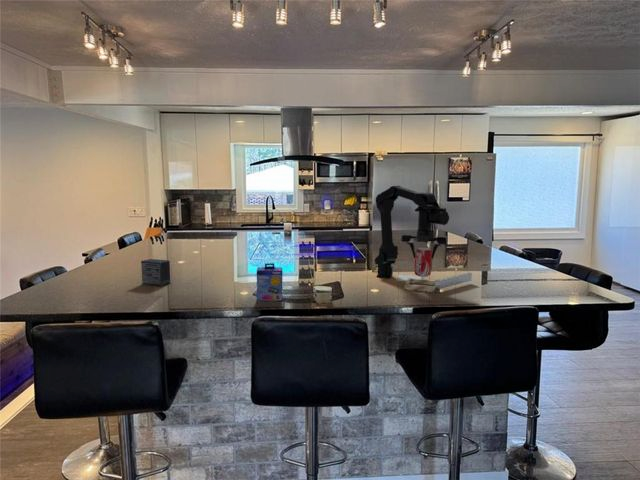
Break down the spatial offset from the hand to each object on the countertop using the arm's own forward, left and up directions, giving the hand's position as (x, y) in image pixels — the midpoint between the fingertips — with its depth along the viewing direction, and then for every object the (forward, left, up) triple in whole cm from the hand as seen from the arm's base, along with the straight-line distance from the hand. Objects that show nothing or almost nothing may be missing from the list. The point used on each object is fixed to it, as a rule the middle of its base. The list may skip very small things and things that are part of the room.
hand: (423, 258), depth 184 cm
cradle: (0, 0, -13) cm, 13 cm away
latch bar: (+13, +4, -11) cm, 18 cm away
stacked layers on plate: (-34, -35, -13) cm, 51 cm away
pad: (-7, +13, -13) cm, 19 cm away
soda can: (0, 0, -8) cm, 8 cm away
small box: (-110, -37, -13) cm, 117 cm away
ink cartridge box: (-54, -40, -13) cm, 68 cm away
